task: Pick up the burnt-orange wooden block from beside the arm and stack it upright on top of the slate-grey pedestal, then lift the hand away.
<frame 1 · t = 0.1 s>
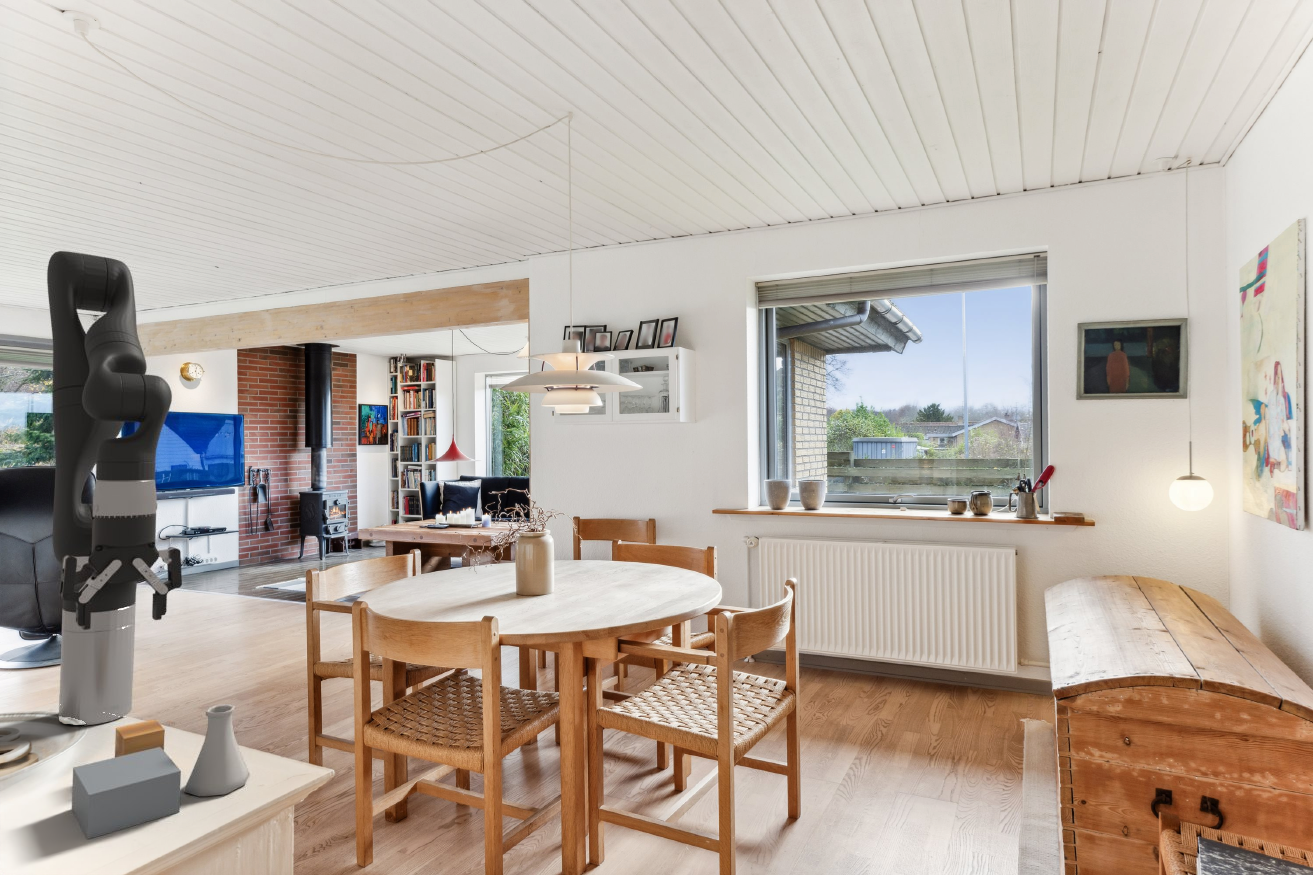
hand: (122, 623, 109), 17 cm above the table, tool pointing down, fingers open, 8 cm apart
flask: (217, 786, 98), on the table
pedestal: (125, 810, 91), on the table
orange block: (138, 773, 100), on the table
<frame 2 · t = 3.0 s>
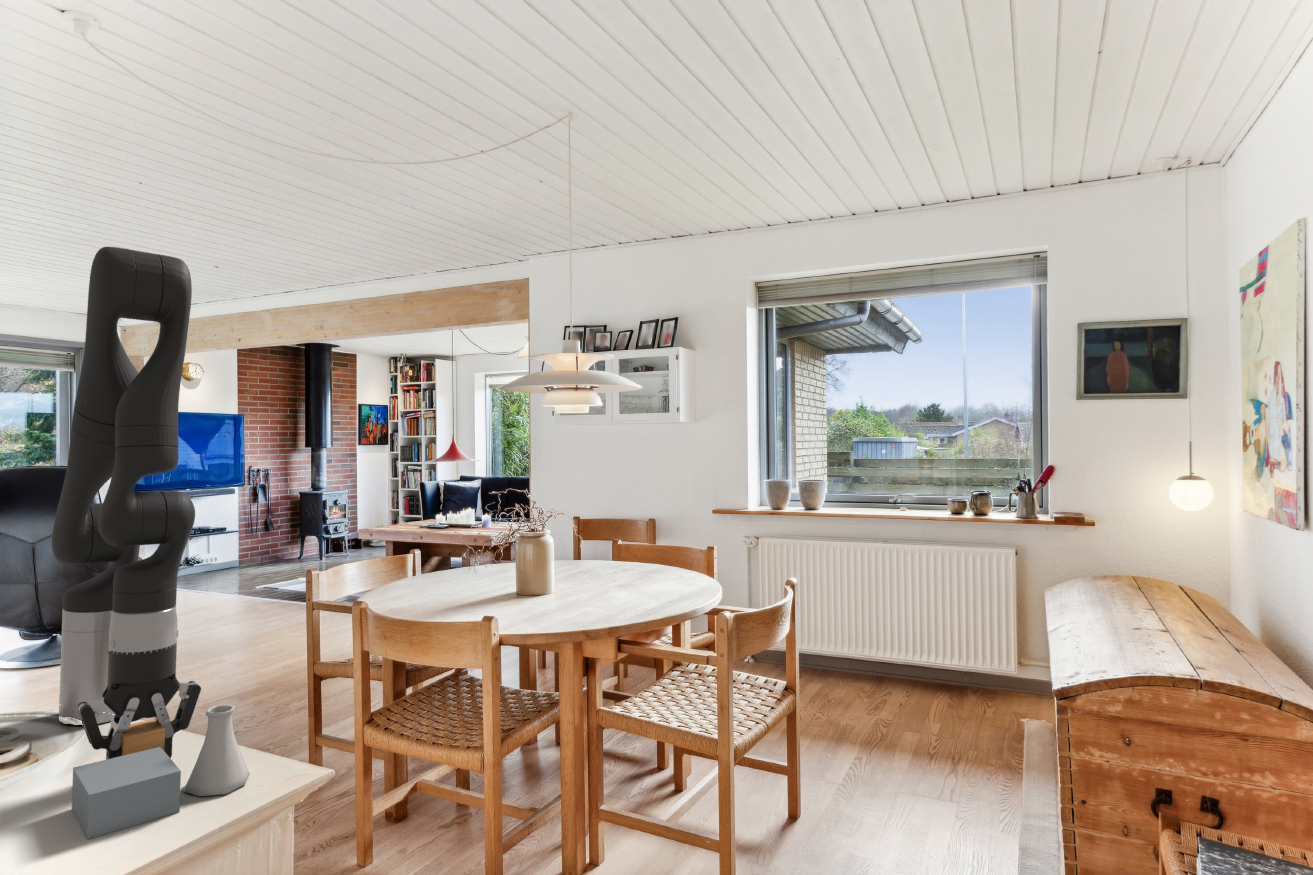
hand: (138, 768, 100), 1 cm above the table, tool pointing down, fingers closed on orange block, 4 cm apart
orange block: (139, 772, 100), on the table, touching gripper
everything else where it was.
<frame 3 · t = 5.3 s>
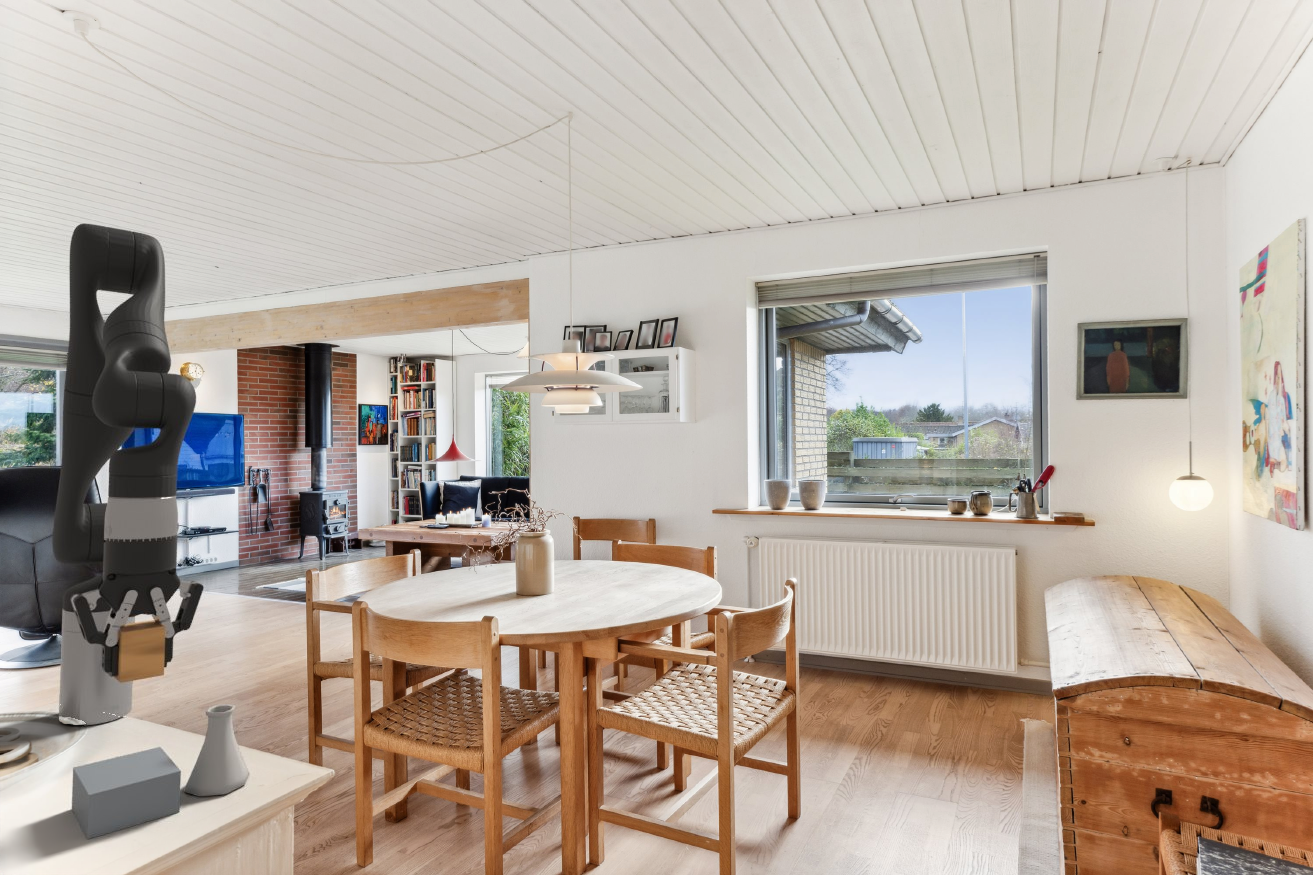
hand: (137, 670, 93), 16 cm above the table, tool pointing down, fingers closed on orange block, 4 cm apart
orange block: (137, 674, 93), point 16 cm above the table, touching gripper
everything else where it was.
when the fingers open (6 cm above the table, at t = 7.6 s): orange block stays where it is, resting on pedestal.
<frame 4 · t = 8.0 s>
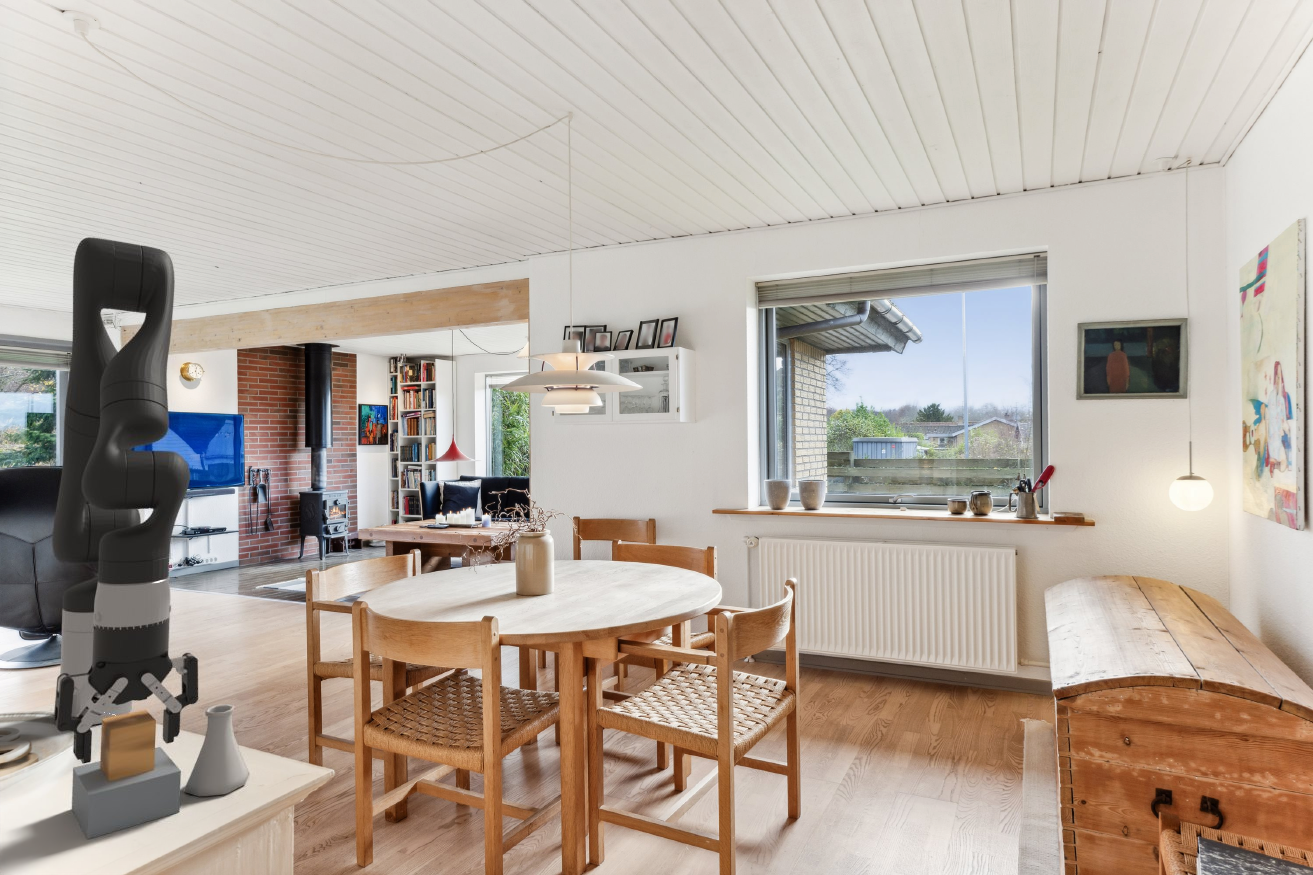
hand: (127, 750, 91), 7 cm above the table, tool pointing down, fingers open, 8 cm apart
orange block: (127, 768, 91), point 5 cm above the table, touching pedestal
everything else where it was.
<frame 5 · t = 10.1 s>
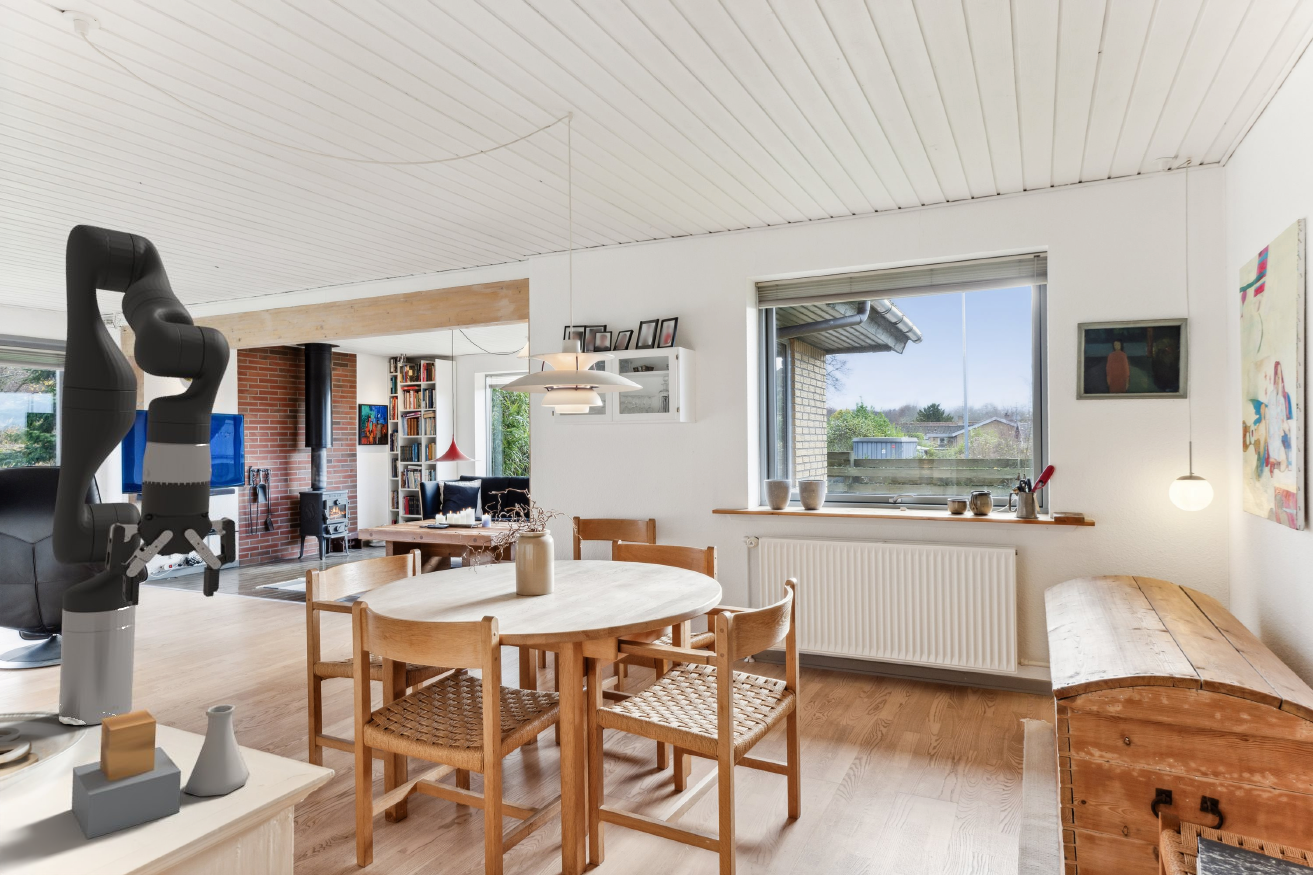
hand: (171, 599, 99), 24 cm above the table, tool pointing down, fingers open, 8 cm apart
nothing on the table moved.
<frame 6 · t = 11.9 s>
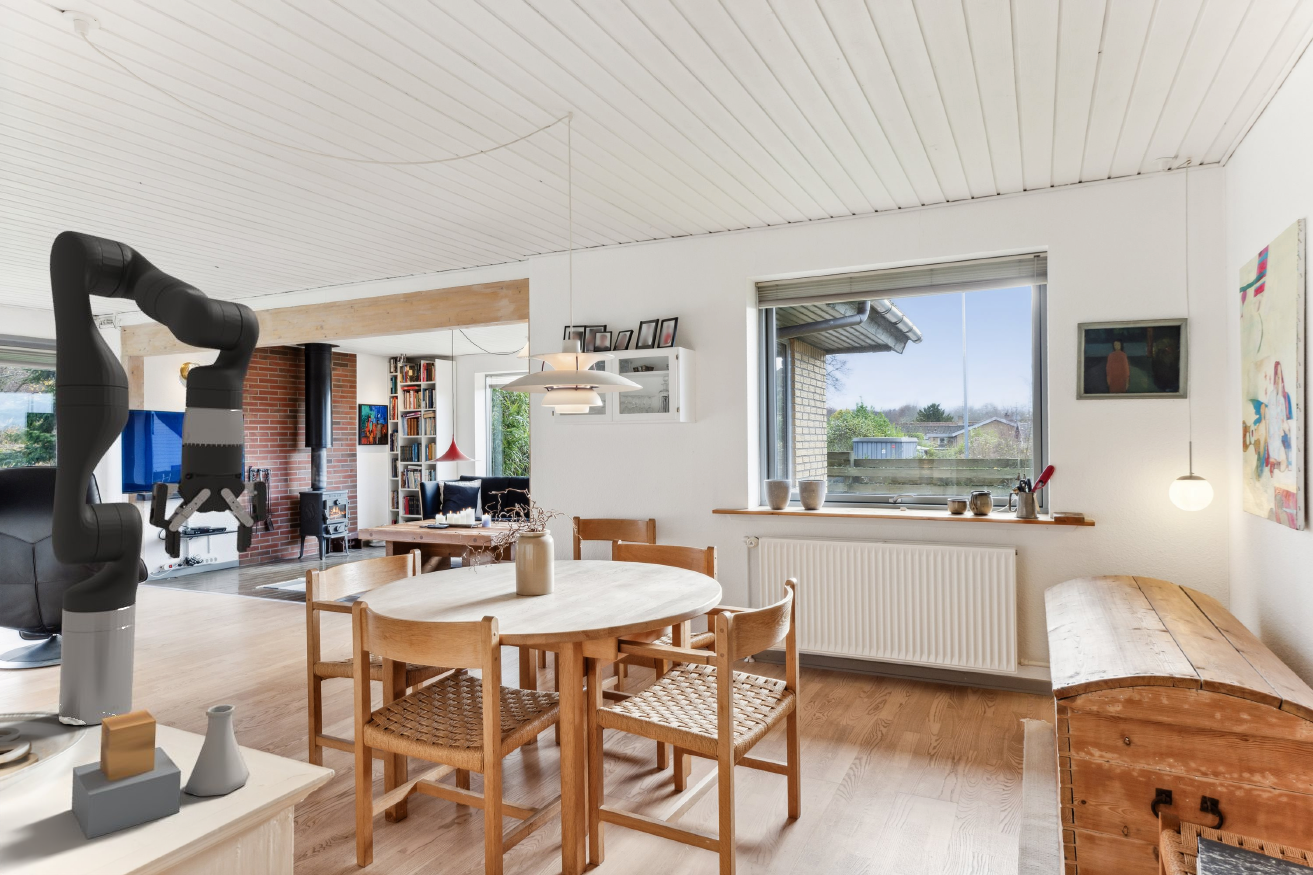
hand: (208, 554, 107), 28 cm above the table, tool pointing down, fingers open, 8 cm apart
nothing on the table moved.
at the end: orange block 0.0 cm off-centre on the pedestal, point 5.0 cm above the pedestal's base; orange block tilted 0°; the gripper is holding nothing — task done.
